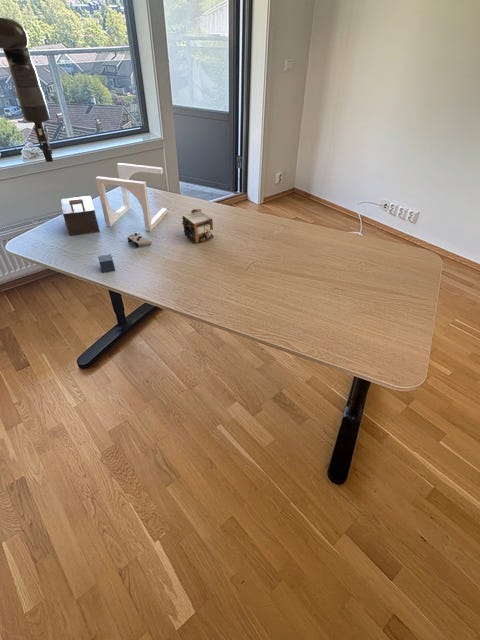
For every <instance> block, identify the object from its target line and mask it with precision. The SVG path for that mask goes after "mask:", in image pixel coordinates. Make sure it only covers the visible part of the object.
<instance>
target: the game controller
mask: <svg viewBox="0 0 480 640" xmlns="http://www.w3.org/2000/svg"><path fill="white" fill-rule="evenodd" d="M127 242H128V243H129V244H130V243H133V244H134V245H135V248H140V247H142V246H151V245H152V244H153V242H152V240H151V239H150V238H147V237H145V236H143V235H141V234H140V232H133V233H131V234H129V235H128V236H127Z"/></svg>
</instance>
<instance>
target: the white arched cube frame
mask: <svg viewBox="0 0 480 640" xmlns="http://www.w3.org/2000/svg"><path fill="white" fill-rule="evenodd" d="M116 167H117V174H118V178H116V177H109V176H108V177H107V176H99V175H98V176H96V177H95V183H96V187H97V191H98V195H99V200H100V204H101V209H102V214H103V218H104V222H105V226H107V227H111V226H112V225H114V224H115V223H116V222H117V221H118V220H119V219H120V218H121V217H122V216H124V215H125V214H126V213H127V212H128V211H130V209H131V208H132V207H131V201H130V195H129V192H130V193H131V194H132V195H133V196H134V197H135V198H136V199H137V202H138V203H139V204H140V206H141V207H140V208H141V210H142V214H143V221H144V222H143V223H144V227H145V232H150V233H151V232H152V230H153V229H154V228H155V227H157V225H158V224H159V223H160V221H162V220H163V218H164V217H165V216H166V215H167V213H168V208H166V207H162V208H161V209H160V210H159V211H158V212H157V213H156V214H155V215H154V216H153V218H151V211H150V204H149V195H148V187H147V182H146V181H141V180H132V179H130V178H131V177H132V176H133V175H134V174H136V173H150V174H157V175H163V173H164V167H159V166H151V165H143V164H132V163H126V162H125V163H124V162H117V164H116ZM106 185H108V186H109V185H110V186H117V187H120V189H121V195H122V200H123V201H122V202H123V205H122V206H121V207H120V208H118V210H116V211H115V210H114V209H113V208H112V206H111V205H110V203H109V199H108V196H107V191H106Z"/></svg>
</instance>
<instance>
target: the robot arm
mask: <svg viewBox="0 0 480 640" xmlns="http://www.w3.org/2000/svg"><path fill="white" fill-rule="evenodd" d="M28 44H29V37H28V33H27V31H26V30H25V28H24V27H23V26H22V24H21V23H19V22H18V21H16V20H15V19H12V18H8V17H0V49H1V50H2V51H3V53H4V56H5V58H6V61H7V64H8V68H9V72H10V76H11V79H12V83H13V85H14V89H15V94H16V98H17V100H18V103H19V107H20V110H21V113H22V116H23V119H24V121H26V122H28V123H34V125H33V128H32V129H33V131H34V132H33V133H34V134H35V136H36V140H37V143H38V144H39V149H40V150H41V151H42V153H43V156H44V157H43V158H44V160H45V162H46V163H52V162H54V160H53V159H54V158H53V155H52V154H53V150H52V147H51V144H50V141H51V140H50V135H49V128H48V126H47V125H45V122H48V121H50V120H51V115H50V112H49V109H48V108H49V107H48V105H47V101H46V97H45V94H44V91H43V89H42V87H41V83H40V79H39V75H38V73H37V70H36V67H35V65H34V63H33V61H32V58H31V54H30V53H31V52H30V50H29V47H28Z"/></svg>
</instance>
